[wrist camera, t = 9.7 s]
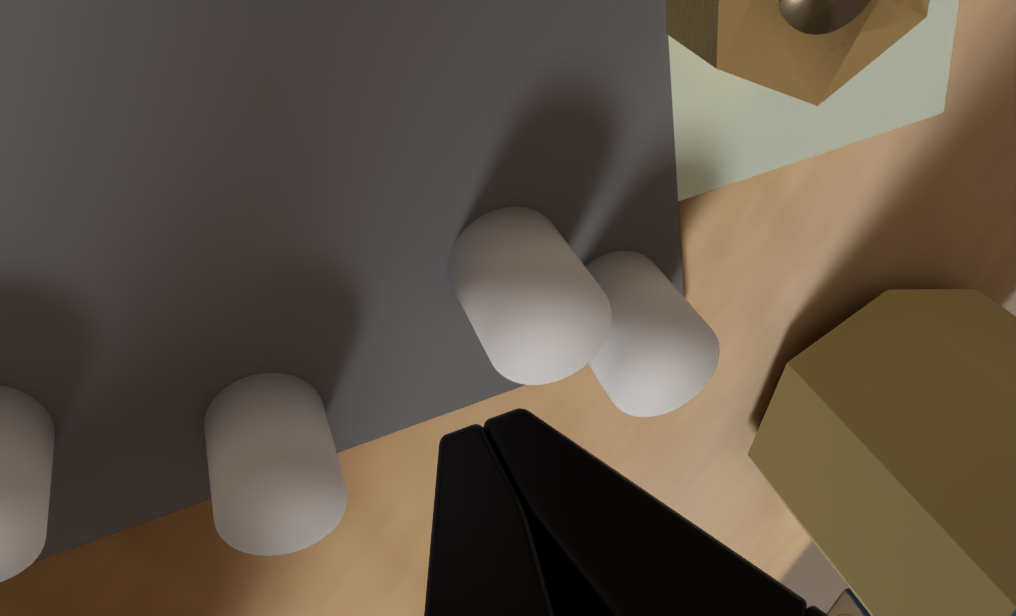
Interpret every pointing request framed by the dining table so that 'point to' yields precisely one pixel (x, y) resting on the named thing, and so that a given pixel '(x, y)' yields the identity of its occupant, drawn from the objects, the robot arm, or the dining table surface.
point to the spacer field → (315, 244)
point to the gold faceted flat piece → (792, 38)
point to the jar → (905, 452)
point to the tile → (801, 108)
